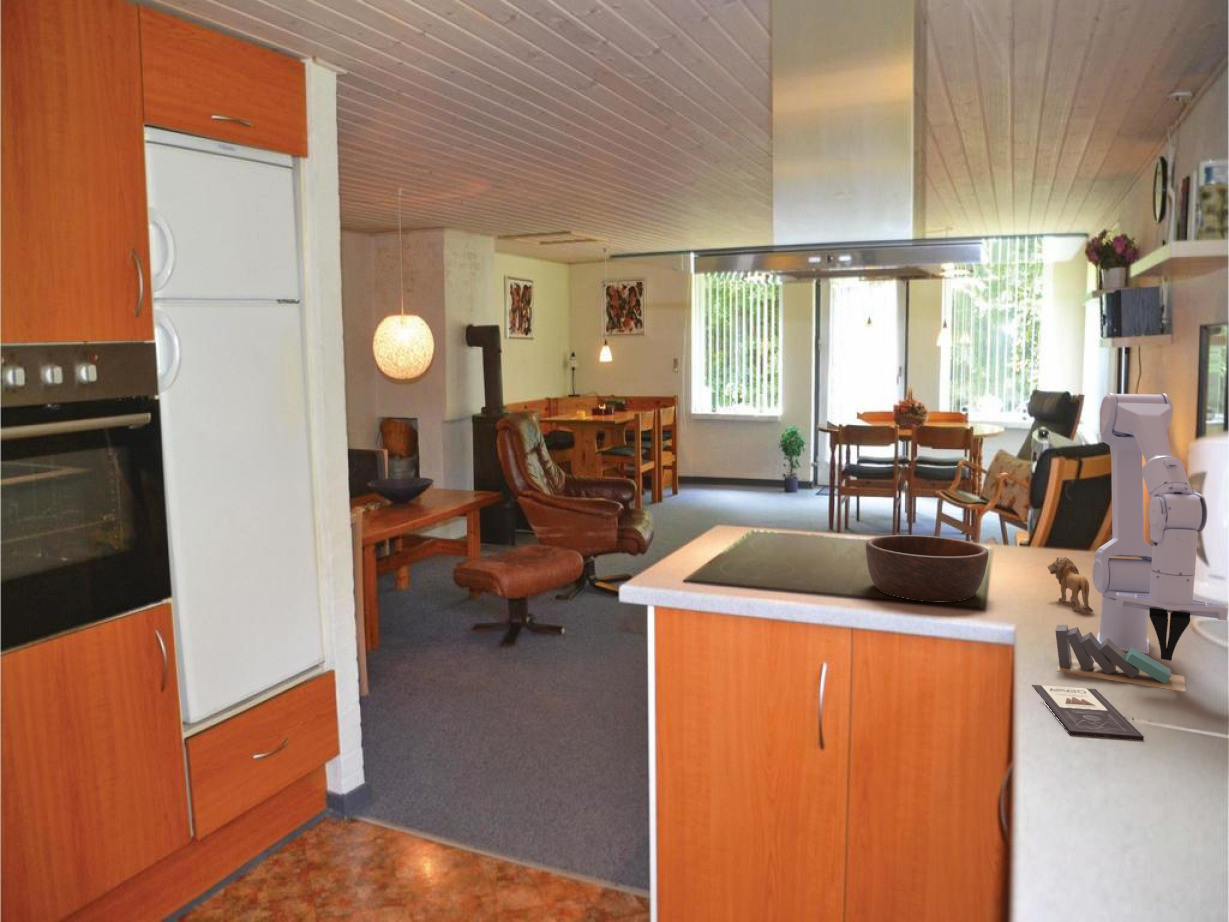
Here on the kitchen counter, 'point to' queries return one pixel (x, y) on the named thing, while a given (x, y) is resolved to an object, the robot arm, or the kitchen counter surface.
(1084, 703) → the chocolate bar
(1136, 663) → the domino
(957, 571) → the wooden bowl
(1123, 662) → the domino
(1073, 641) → the domino
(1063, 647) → the domino
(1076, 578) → the lion figurine
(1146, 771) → the kitchen counter surface
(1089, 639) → the domino
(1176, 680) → the cork strip
